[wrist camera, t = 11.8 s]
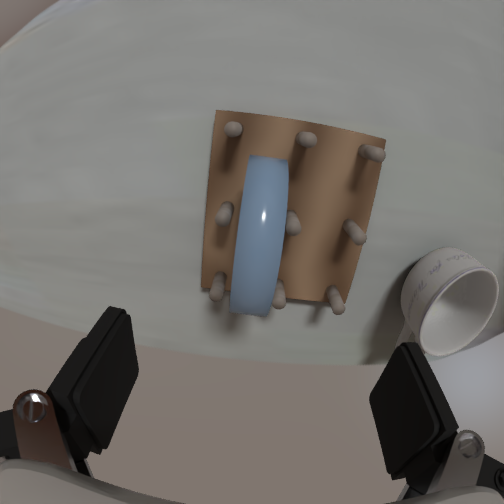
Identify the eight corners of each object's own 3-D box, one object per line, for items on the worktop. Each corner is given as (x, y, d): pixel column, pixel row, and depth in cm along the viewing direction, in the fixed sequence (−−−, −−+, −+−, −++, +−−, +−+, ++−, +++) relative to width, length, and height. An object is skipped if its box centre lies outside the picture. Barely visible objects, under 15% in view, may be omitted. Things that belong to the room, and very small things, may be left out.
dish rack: (380, 138, 24) (402, 142, 20) (341, 296, 31) (353, 323, 27) (218, 110, 24) (208, 107, 20) (203, 279, 31) (194, 306, 26)
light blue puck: (280, 152, 24) (295, 172, 14) (263, 268, 29) (262, 351, 18) (252, 148, 24) (245, 165, 14) (238, 265, 29) (224, 346, 18)
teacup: (445, 218, 27) (487, 246, 20) (474, 278, 30) (508, 312, 23) (353, 297, 31) (374, 345, 24) (395, 345, 34) (416, 389, 27)
